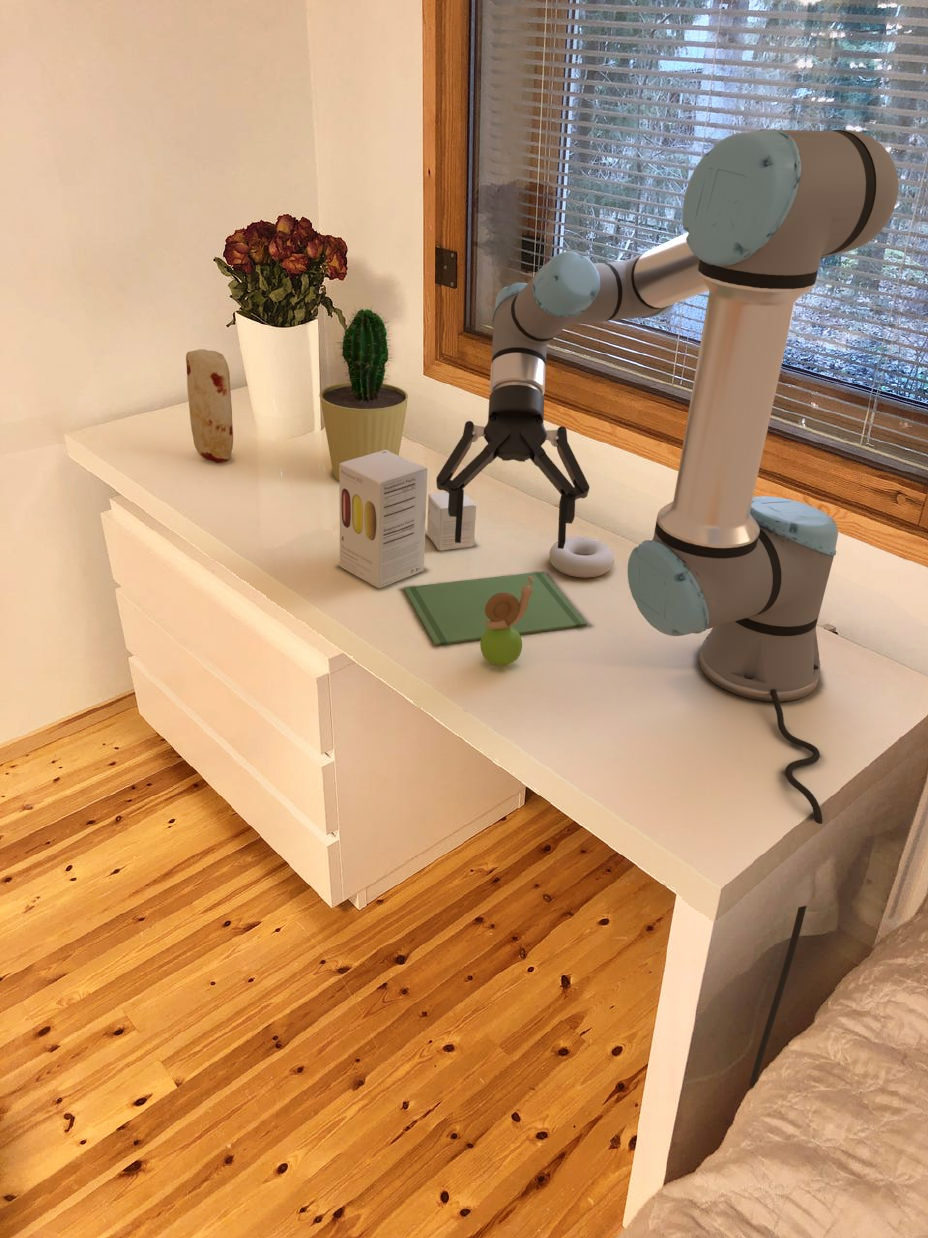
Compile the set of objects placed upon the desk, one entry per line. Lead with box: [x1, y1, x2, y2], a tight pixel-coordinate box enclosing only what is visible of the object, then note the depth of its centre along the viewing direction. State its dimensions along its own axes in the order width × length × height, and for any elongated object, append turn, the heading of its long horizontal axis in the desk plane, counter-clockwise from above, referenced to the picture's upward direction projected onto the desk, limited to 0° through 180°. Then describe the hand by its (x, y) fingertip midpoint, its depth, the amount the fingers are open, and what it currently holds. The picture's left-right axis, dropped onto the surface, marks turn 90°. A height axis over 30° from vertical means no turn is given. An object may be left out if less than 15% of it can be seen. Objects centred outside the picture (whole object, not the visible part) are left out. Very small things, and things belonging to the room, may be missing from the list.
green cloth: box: [403, 571, 587, 646], centre depth 148 cm, size 16×22×1 cm
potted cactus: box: [318, 305, 409, 482], centre depth 181 cm, size 15×15×30 cm
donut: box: [548, 536, 615, 579], centre depth 160 cm, size 10×4×10 cm
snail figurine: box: [479, 576, 534, 667], centre depth 133 cm, size 5×6×12 cm
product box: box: [426, 491, 477, 552], centre depth 165 cm, size 6×6×7 cm
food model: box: [185, 348, 234, 464], centre depth 187 cm, size 10×7×20 cm
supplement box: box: [339, 450, 428, 589], centre depth 153 cm, size 10×9×17 cm
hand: (509, 542), depth 137 cm, fingers open, 13 cm apart
